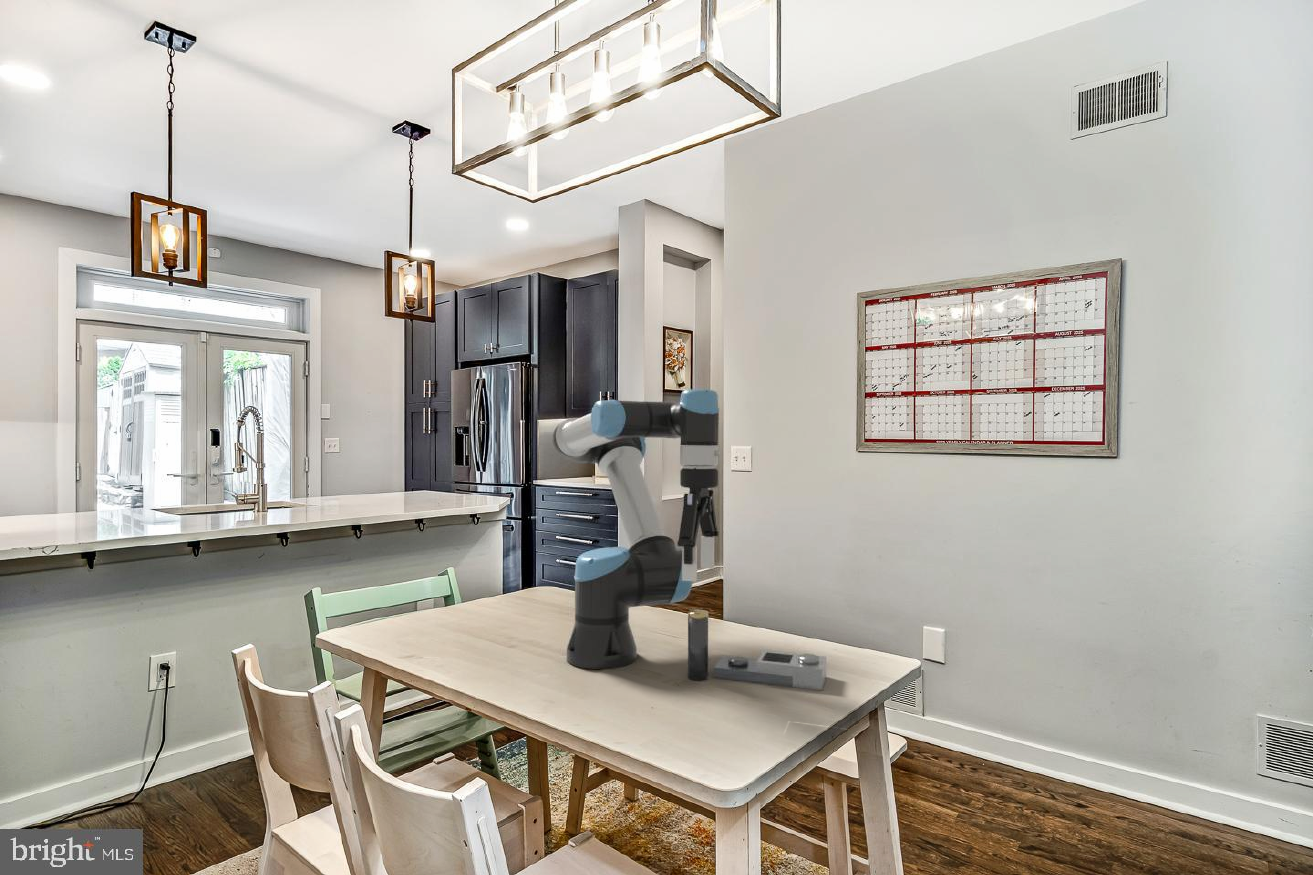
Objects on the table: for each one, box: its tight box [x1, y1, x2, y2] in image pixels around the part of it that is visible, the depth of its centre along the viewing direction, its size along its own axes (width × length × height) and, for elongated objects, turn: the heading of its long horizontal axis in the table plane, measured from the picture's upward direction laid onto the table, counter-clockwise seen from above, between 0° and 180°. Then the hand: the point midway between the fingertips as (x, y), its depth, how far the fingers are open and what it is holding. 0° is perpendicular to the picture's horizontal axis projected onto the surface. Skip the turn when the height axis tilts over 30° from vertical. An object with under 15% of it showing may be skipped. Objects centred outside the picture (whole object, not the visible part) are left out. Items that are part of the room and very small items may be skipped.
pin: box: [687, 608, 709, 682], centre depth 136 cm, size 4×4×13 cm
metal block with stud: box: [713, 649, 827, 691], centre depth 136 cm, size 21×8×5 cm, turn 71°
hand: (698, 574), depth 136 cm, fingers open, 13 cm apart
